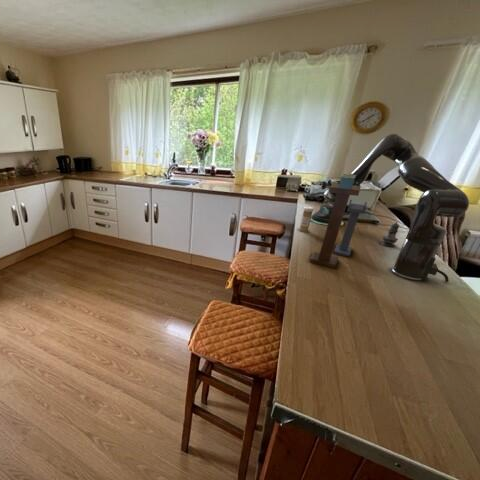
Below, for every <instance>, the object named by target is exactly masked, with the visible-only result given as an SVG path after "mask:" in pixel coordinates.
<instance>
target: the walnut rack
mask: <svg viewBox="0 0 480 480" xmlns="http://www.w3.org/2000/svg"><path fill="white" fill-rule="evenodd" d="M338 187H339V184H335V183H333V185H332V186H331V187H330V190H329V192H331V193H337V195H336V198H335V202H334V205H332V206H333V209H332V212H331V216H330V219H329V223H328V225H326V226H327V227H326V230H325V234H324V236H323V240H322V243H321V248H320V251H319V252H317V251H314V252H313V254H312V255H311V257H310V261H309V262H310V263H312V264H317V265H319V266H320V265H321V266H324V267H327V268H331V269H336V266H337V263H338V259H339V257H338V256H334V255H332V254H333V252H334V248H335V246H336V241H337V239H338V234H339V232H340V228H341V226H342V225H341V222H343V220H344V219H343V218H344V216H345V212H346V210H347V209H346V208H347V207H348V206H347V205H348V204H349V203H348V202H349V199H350V196H357V197H358V196H359V194H360V191H361V185H360V186H354V185H353V186H352V189H342V188H338Z"/></svg>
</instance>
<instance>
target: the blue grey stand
mask: <svg viewBox="0 0 480 480" xmlns="http://www.w3.org/2000/svg"><path fill="white" fill-rule="evenodd" d="M352 202H353V200H352V199H350V201H349V203H348V206H347V209H346V212H350V214H349V216H348V219H347V223H346V226H345V229H344V233H343V236H342V238H341V242H340V244H337V243H336V244H335V247H334V248H335V249H334V250H333V254H335V255H339V256H342V257H343V256H344V257H347V258H350V257H351V254H352V250H353V249H352V247H351V246H350V243H351V240H352V237H353V234H354V231H355V229H356V225H357V222H358V220H359V217H360V216H359V215H360V214H361V215H365V213H366V209H367V207H368V201H365V202H364V204H357V203H352Z"/></svg>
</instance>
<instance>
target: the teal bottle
mask: <svg viewBox="0 0 480 480" xmlns="http://www.w3.org/2000/svg"><path fill="white" fill-rule="evenodd" d="M355 177H356V175H353V174H351V173H343V174H342V175H341V177H340V180H339V181H340V183H339V187H338V188H342V189H352V186H353V184H354V180H355Z"/></svg>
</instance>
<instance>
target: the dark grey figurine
mask: <svg viewBox="0 0 480 480" xmlns="http://www.w3.org/2000/svg"><path fill="white" fill-rule="evenodd" d="M399 227H400V225H399V224H398V222H397V221H395V223H392V224H391V225H390V228H389V229H388V232H387V234H385V235H382V242H380V244H381V245H382V246H385V247H389V248H395V244H396V243H397V242H398V240H399V239H398V238H397V233H398V232H399V231H398V230H399Z"/></svg>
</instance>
